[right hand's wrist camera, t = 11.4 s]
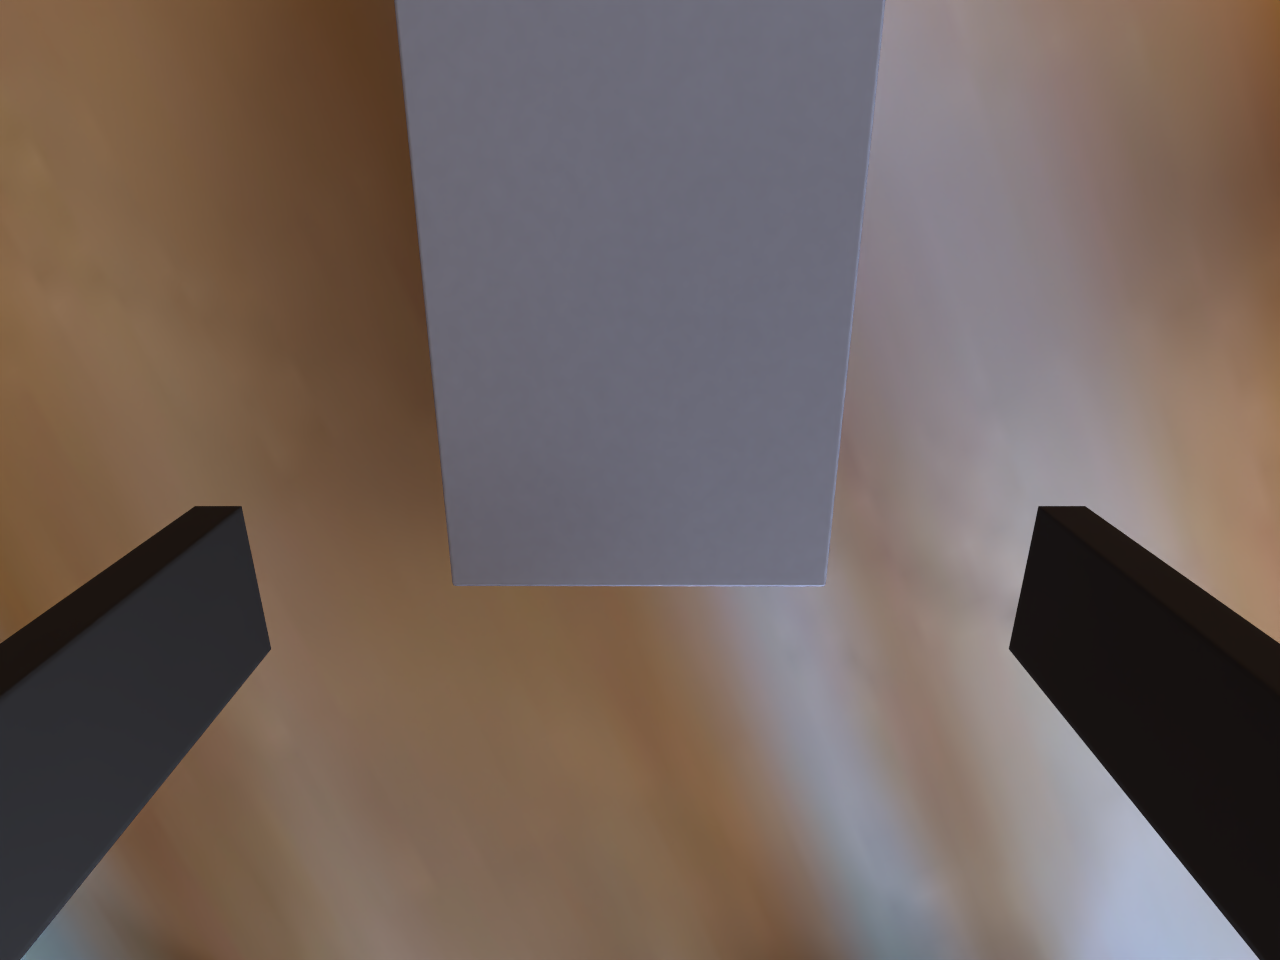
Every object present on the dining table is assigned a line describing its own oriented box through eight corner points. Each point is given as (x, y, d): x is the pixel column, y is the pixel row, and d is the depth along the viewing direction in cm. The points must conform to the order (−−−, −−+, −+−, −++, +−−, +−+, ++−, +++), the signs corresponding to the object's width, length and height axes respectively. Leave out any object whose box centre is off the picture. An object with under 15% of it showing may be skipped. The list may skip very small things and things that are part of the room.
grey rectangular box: (467, -126, 23) (360, -325, 14) (812, -125, 23) (919, -324, 14) (507, 470, 30) (451, 587, 21) (771, 471, 30) (825, 587, 21)
